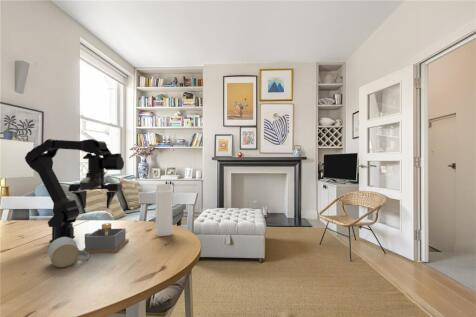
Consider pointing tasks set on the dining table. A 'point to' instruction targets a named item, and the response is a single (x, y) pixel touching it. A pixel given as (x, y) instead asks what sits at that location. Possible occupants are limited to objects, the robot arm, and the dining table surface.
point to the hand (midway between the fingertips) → (96, 208)
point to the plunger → (106, 228)
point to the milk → (164, 210)
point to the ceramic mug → (65, 252)
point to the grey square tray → (105, 241)
